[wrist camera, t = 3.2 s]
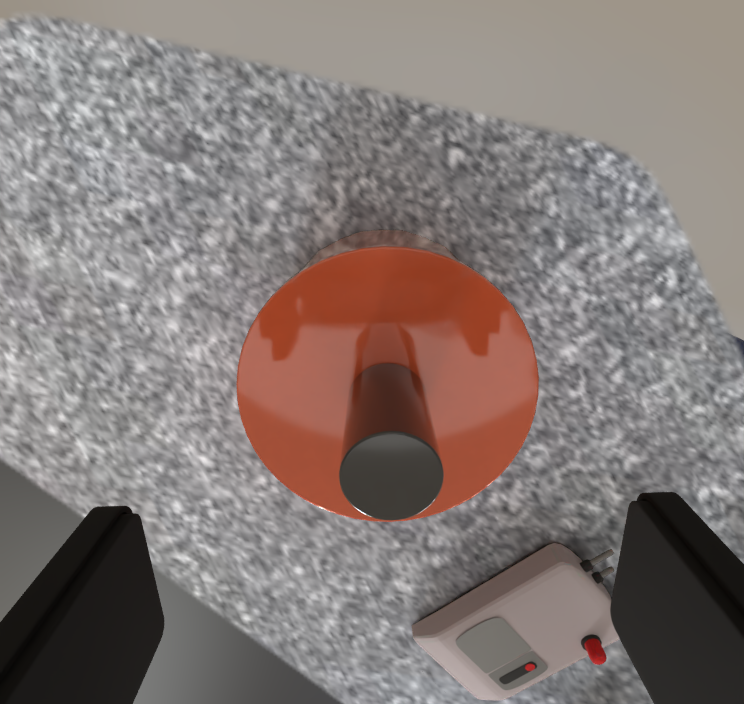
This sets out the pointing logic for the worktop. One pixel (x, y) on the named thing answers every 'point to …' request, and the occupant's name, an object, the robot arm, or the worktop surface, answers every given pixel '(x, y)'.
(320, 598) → the worktop surface
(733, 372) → the worktop surface
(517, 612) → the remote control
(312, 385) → the lid
